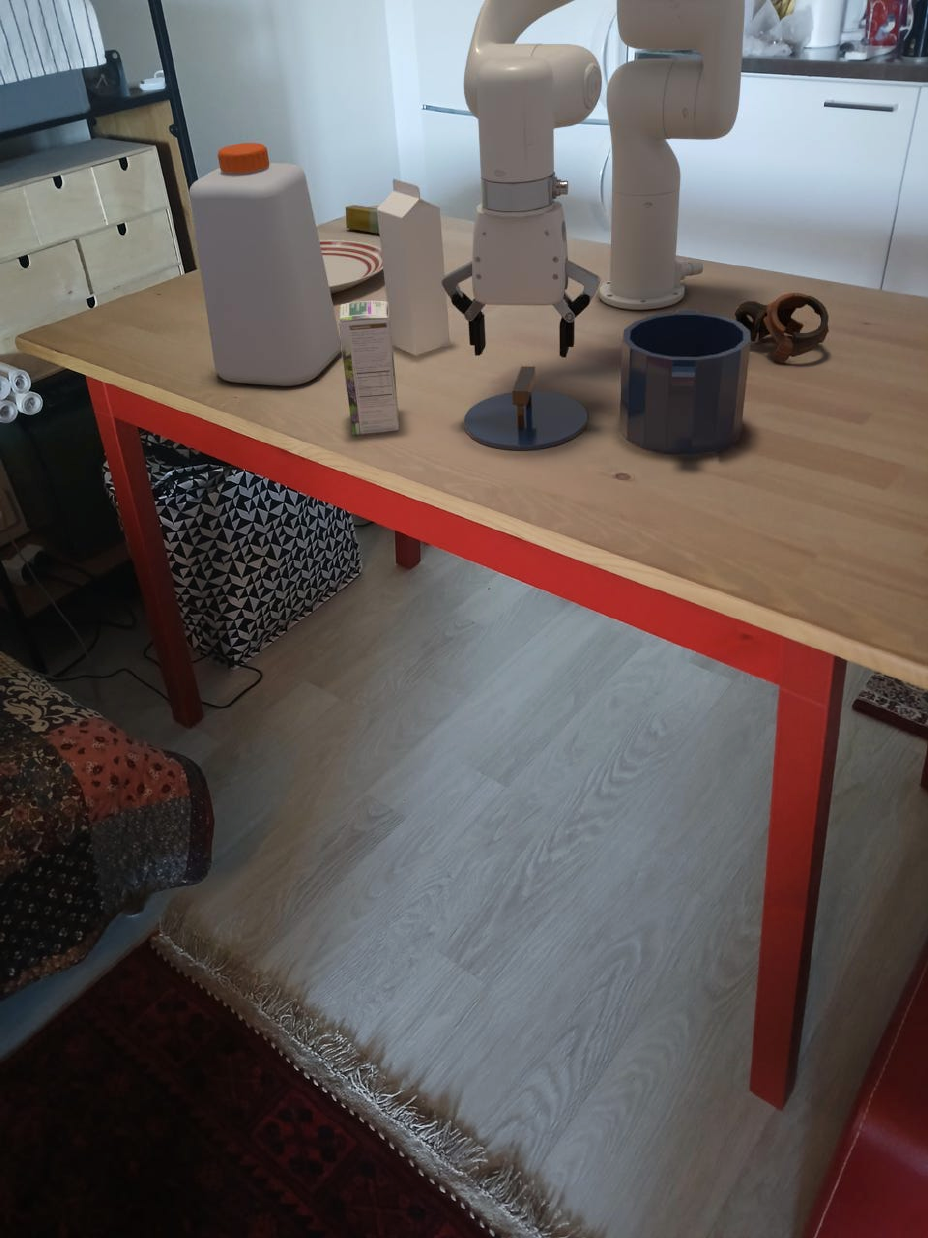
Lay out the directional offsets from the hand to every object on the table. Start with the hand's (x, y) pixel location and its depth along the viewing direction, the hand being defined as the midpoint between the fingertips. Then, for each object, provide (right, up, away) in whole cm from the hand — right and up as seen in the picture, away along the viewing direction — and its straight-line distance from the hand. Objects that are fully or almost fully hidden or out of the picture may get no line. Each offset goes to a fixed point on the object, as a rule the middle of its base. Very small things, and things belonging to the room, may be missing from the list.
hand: (522, 351), depth 116 cm
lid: (+1, -7, +5) cm, 9 cm away
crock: (+18, -9, +2) cm, 20 cm away
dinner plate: (-32, +26, +54) cm, 68 cm away
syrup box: (-17, -7, +9) cm, 20 cm away
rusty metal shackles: (+35, +5, +19) cm, 40 cm away
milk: (-13, +8, +28) cm, 31 cm away
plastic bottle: (-32, +5, +26) cm, 41 cm away
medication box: (-23, +41, +73) cm, 87 cm away
